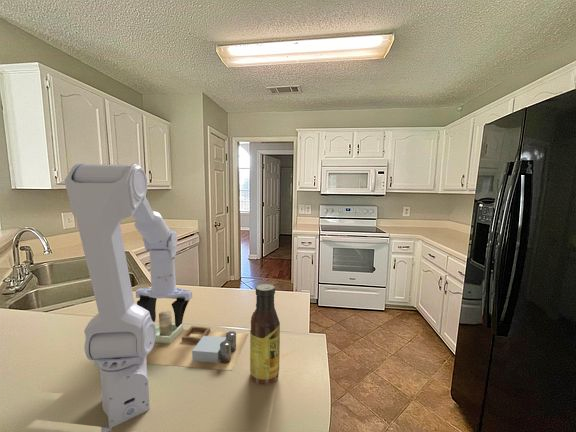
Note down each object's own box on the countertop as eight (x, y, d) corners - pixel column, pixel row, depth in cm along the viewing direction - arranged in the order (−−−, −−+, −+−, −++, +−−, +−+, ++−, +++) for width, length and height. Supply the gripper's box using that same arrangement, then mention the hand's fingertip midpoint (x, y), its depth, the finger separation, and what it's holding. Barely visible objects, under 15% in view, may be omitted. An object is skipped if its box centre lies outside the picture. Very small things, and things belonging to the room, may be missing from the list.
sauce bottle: (275, 391, 50) (275, 295, 48) (245, 385, 52) (244, 292, 50) (282, 368, 57) (283, 283, 55) (256, 364, 58) (255, 280, 56)
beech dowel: (173, 335, 67) (172, 313, 67) (161, 339, 65) (160, 317, 65) (170, 330, 70) (169, 309, 69) (158, 333, 68) (157, 312, 67)
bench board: (248, 336, 69) (248, 329, 69) (232, 373, 55) (232, 365, 55) (162, 330, 71) (161, 324, 71) (125, 364, 57) (125, 356, 57)
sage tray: (183, 330, 70) (183, 324, 70) (170, 344, 64) (170, 337, 64) (161, 328, 71) (161, 322, 71) (146, 342, 65) (146, 335, 64)
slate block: (226, 346, 63) (226, 337, 63) (217, 362, 57) (217, 352, 57) (203, 345, 64) (203, 335, 63) (192, 361, 58) (192, 350, 57)
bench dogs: (237, 346, 63) (237, 331, 63) (229, 364, 57) (228, 347, 56) (228, 346, 63) (227, 331, 63) (218, 363, 57) (218, 346, 57)
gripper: (196, 270, 69) (198, 317, 70) (147, 268, 70) (149, 314, 72) (183, 279, 62) (185, 332, 63) (128, 277, 63) (131, 328, 65)
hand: (165, 323), depth 67 cm, fingers open, 7 cm apart
